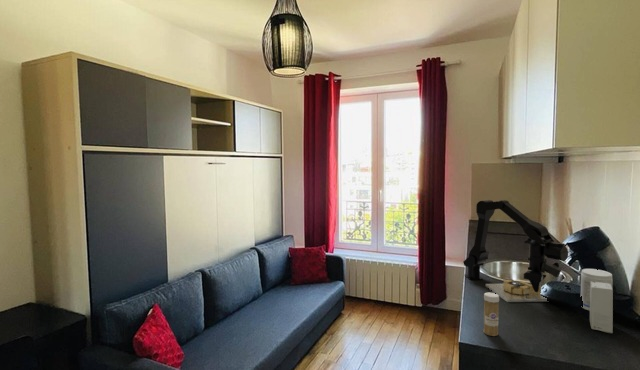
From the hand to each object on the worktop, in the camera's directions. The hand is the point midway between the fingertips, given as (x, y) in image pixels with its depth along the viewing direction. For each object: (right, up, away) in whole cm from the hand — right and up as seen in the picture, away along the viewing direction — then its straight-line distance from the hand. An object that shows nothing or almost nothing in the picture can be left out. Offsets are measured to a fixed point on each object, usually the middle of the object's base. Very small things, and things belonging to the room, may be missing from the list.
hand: (536, 292), depth 144 cm
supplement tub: (+16, -3, -11) cm, 20 cm away
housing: (-5, -2, +6) cm, 8 cm away
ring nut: (-4, -1, +5) cm, 6 cm away
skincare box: (+6, -4, -25) cm, 26 cm away
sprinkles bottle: (-34, -5, -29) cm, 45 cm away
